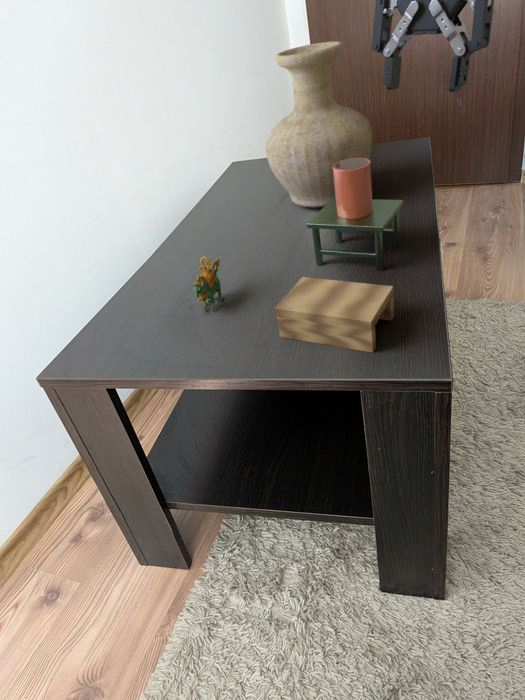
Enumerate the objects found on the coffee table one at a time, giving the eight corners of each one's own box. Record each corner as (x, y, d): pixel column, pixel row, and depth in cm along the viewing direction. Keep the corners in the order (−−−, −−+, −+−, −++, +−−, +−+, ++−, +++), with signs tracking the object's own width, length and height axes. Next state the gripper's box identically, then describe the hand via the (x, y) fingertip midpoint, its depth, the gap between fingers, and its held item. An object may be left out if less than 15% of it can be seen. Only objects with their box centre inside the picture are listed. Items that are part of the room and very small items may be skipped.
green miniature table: (403, 243, 91) (403, 199, 86) (383, 272, 84) (382, 227, 79) (336, 239, 97) (332, 198, 93) (312, 266, 90) (306, 223, 85)
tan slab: (394, 316, 73) (393, 286, 70) (373, 352, 67) (371, 321, 64) (306, 304, 80) (302, 276, 77) (280, 337, 74) (274, 308, 71)
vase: (397, 196, 109) (393, 34, 92) (307, 230, 103) (285, 63, 86) (338, 175, 126) (325, 36, 109) (258, 204, 120) (232, 60, 103)
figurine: (194, 321, 82) (181, 276, 77) (217, 283, 91) (206, 241, 86) (212, 321, 81) (199, 275, 76) (233, 283, 90) (223, 240, 86)
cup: (376, 214, 83) (374, 165, 79) (340, 221, 84) (336, 172, 79) (368, 202, 88) (366, 154, 84) (334, 208, 89) (329, 162, 84)
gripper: (365, -65, 58) (359, 92, 67) (490, -87, 50) (465, 96, 59) (397, -62, 63) (388, 85, 72) (517, -81, 55) (490, 87, 63)
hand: (422, 90), depth 65 cm, fingers open, 8 cm apart
